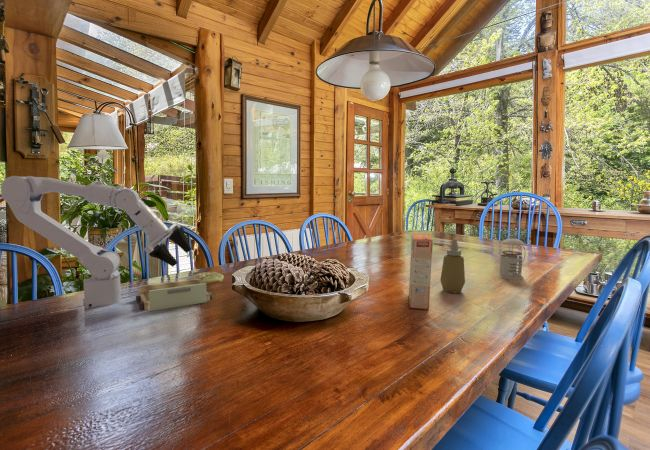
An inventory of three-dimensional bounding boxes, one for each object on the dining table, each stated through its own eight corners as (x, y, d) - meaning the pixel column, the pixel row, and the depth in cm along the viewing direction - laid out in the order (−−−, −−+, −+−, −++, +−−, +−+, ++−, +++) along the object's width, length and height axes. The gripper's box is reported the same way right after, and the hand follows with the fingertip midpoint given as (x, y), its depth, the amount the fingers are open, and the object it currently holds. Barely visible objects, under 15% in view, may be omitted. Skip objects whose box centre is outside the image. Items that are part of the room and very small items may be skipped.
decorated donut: (196, 290, 130) (196, 279, 130) (190, 282, 140) (190, 272, 139) (227, 286, 135) (226, 275, 135) (219, 279, 145) (219, 269, 144)
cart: (140, 316, 105) (140, 296, 104) (135, 304, 114) (134, 286, 114) (213, 304, 115) (212, 286, 114) (202, 294, 125) (202, 278, 124)
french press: (491, 274, 156) (495, 213, 153) (511, 272, 161) (515, 212, 158) (512, 280, 147) (516, 215, 144) (532, 277, 152) (537, 214, 149)
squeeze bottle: (461, 288, 136) (464, 237, 134) (467, 295, 128) (470, 241, 126) (437, 287, 137) (440, 237, 134) (442, 294, 129) (444, 240, 126)
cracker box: (430, 310, 112) (433, 239, 110) (409, 309, 113) (411, 238, 111) (427, 296, 126) (430, 232, 123) (408, 295, 127) (411, 232, 125)
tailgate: (150, 311, 104) (149, 291, 103) (149, 310, 105) (148, 290, 105) (207, 302, 112) (206, 284, 111) (206, 301, 113) (205, 283, 113)
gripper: (141, 229, 105) (176, 266, 108) (172, 206, 117) (202, 239, 120) (127, 240, 108) (162, 275, 112) (158, 216, 120) (189, 248, 124)
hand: (182, 257), depth 116 cm, fingers open, 7 cm apart
